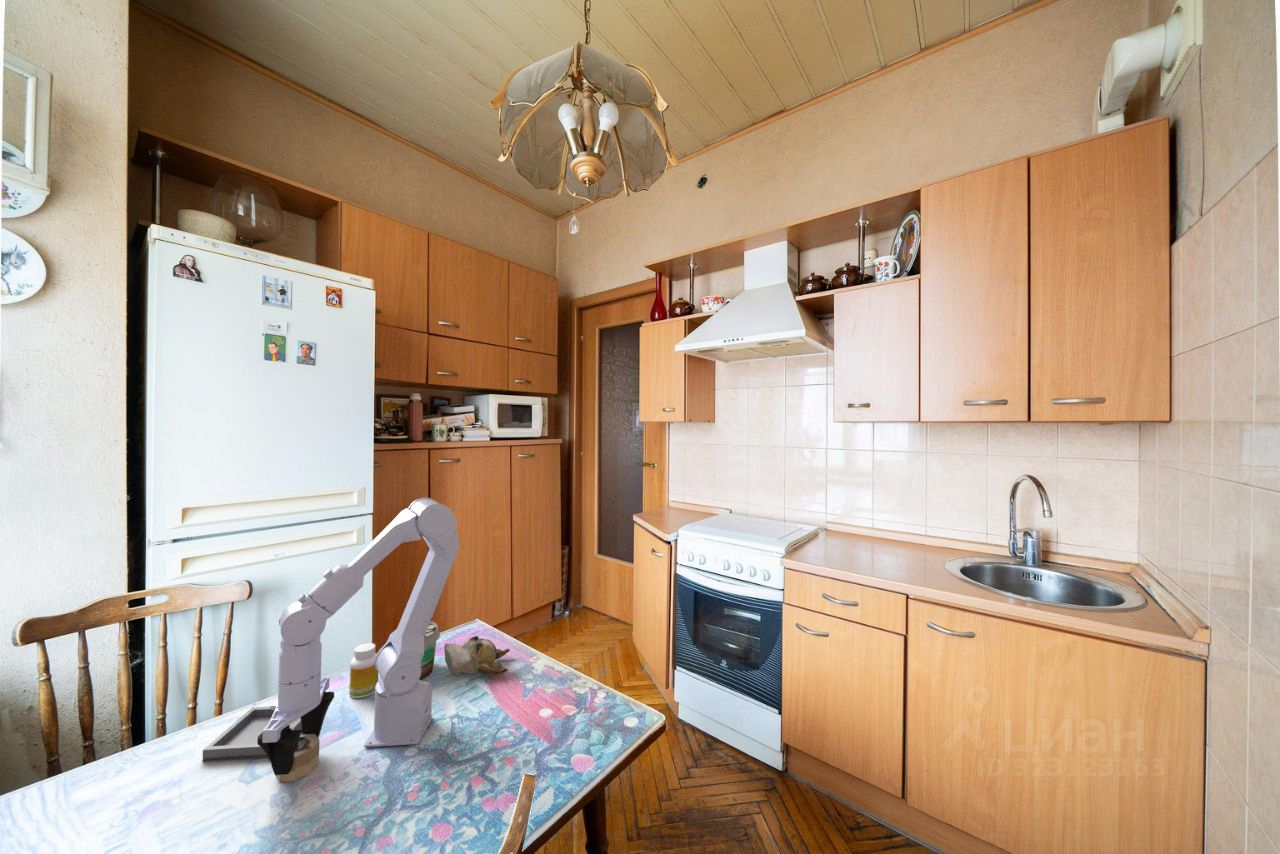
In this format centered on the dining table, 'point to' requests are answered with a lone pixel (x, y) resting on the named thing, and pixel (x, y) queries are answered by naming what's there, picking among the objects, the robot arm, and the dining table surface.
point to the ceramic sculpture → (474, 657)
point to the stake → (301, 742)
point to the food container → (429, 650)
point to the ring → (303, 760)
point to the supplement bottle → (363, 671)
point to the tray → (243, 737)
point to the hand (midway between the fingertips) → (297, 755)
